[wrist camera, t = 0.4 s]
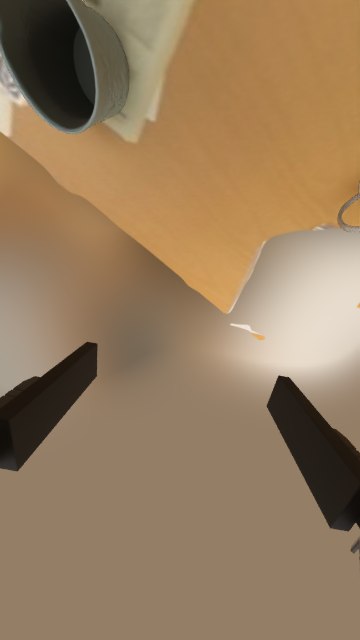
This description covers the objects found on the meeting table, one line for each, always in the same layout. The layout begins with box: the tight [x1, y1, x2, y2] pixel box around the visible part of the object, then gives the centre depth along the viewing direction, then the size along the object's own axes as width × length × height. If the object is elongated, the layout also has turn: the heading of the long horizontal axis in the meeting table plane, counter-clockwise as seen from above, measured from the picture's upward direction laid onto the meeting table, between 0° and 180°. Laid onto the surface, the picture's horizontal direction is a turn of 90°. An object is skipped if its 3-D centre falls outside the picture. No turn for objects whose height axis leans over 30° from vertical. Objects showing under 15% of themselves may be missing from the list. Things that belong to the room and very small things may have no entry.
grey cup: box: [0, 0, 129, 134], centre depth 22 cm, size 10×10×12 cm
